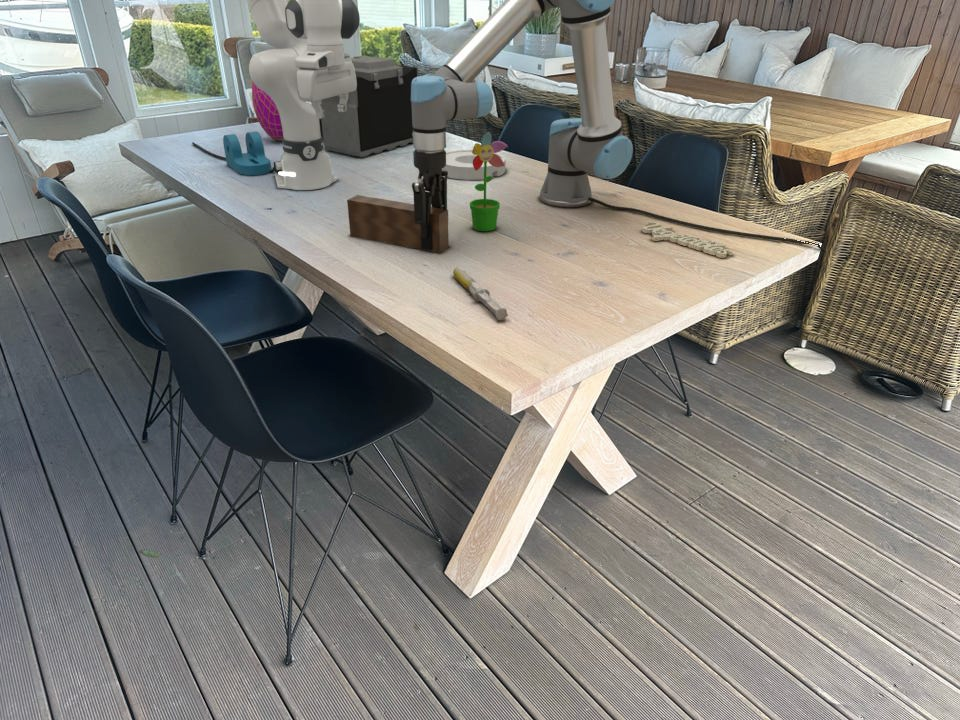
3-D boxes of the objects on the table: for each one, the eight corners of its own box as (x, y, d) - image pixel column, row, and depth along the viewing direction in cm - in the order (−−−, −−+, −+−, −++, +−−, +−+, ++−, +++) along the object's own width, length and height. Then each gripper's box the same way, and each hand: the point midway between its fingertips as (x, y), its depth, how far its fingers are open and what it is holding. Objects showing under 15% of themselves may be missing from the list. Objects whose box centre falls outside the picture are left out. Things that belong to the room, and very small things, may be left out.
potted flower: (476, 234, 177) (477, 135, 164) (462, 225, 183) (462, 128, 170) (508, 229, 181) (511, 131, 168) (493, 220, 187) (496, 125, 174)
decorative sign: (628, 228, 179) (651, 220, 185) (628, 232, 180) (651, 224, 186) (717, 257, 162) (740, 248, 168) (716, 261, 163) (739, 251, 169)
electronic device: (383, 133, 276) (378, 52, 261) (425, 141, 265) (422, 56, 250) (314, 150, 251) (304, 61, 235) (358, 160, 240) (350, 67, 224)
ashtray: (439, 160, 240) (438, 148, 238) (505, 161, 240) (505, 150, 238) (433, 179, 220) (432, 166, 218) (505, 180, 220) (505, 168, 218)
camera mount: (227, 164, 233) (221, 132, 227) (257, 160, 238) (252, 129, 233) (244, 176, 220) (239, 143, 215) (276, 172, 225) (271, 139, 220)
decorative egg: (293, 132, 276) (283, 50, 261) (319, 140, 264) (310, 56, 249) (249, 139, 265) (236, 54, 250) (273, 148, 253) (261, 60, 238)
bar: (448, 247, 170) (448, 209, 165) (440, 253, 166) (439, 215, 161) (360, 230, 179) (357, 194, 174) (350, 236, 176) (346, 199, 171)
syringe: (449, 274, 155) (449, 263, 153) (465, 272, 156) (464, 260, 154) (490, 323, 135) (491, 310, 133) (508, 319, 136) (508, 307, 134)
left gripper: (340, 51, 180) (344, 106, 187) (290, 60, 164) (297, 120, 171) (360, 53, 178) (364, 109, 185) (311, 62, 162) (318, 123, 169)
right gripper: (433, 139, 165) (435, 232, 177) (395, 156, 152) (400, 255, 163) (461, 143, 163) (461, 236, 174) (425, 160, 149) (428, 260, 161)
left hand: (331, 114), depth 178 cm, fingers open, 8 cm apart
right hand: (432, 245), depth 169 cm, fingers closed on bar, 5 cm apart
